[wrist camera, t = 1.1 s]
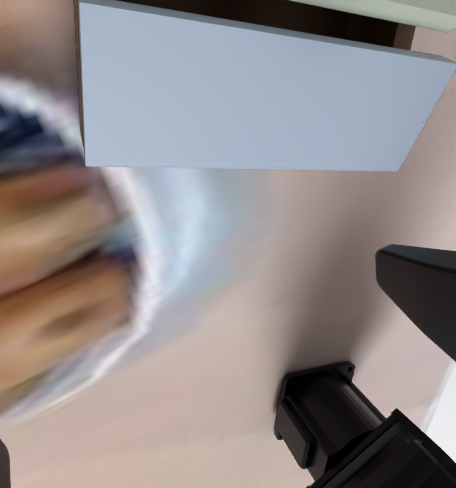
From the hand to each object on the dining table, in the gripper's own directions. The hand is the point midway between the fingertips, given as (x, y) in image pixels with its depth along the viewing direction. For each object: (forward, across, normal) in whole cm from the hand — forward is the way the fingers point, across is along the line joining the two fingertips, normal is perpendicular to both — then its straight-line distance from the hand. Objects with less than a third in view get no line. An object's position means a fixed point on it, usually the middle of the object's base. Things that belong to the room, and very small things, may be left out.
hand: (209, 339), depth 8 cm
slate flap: (+8, -6, -3) cm, 10 cm away
